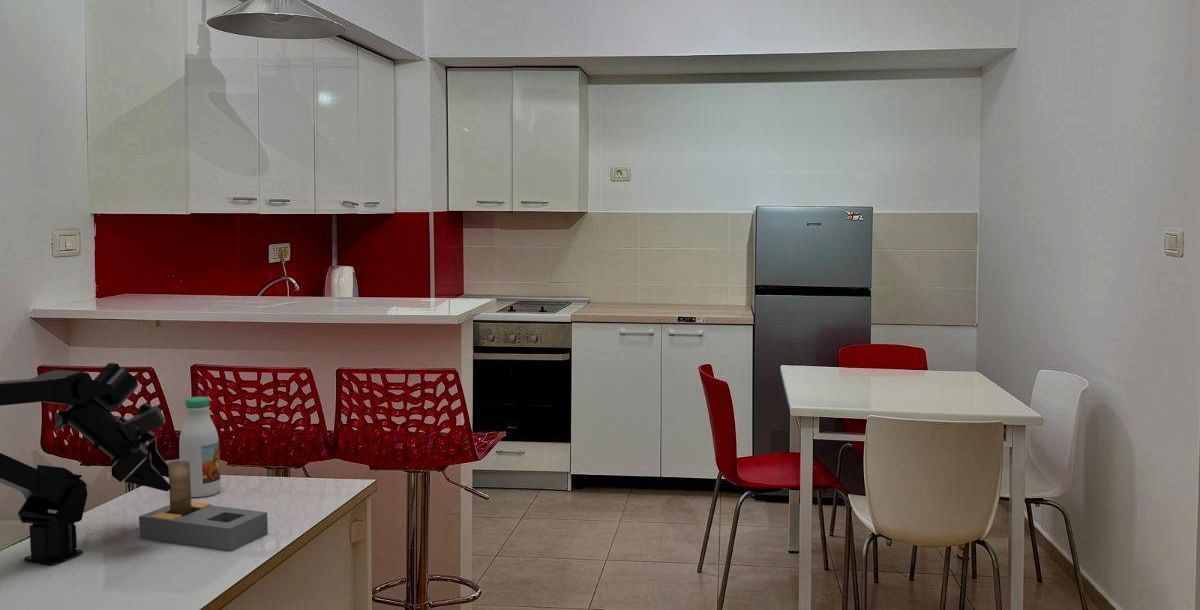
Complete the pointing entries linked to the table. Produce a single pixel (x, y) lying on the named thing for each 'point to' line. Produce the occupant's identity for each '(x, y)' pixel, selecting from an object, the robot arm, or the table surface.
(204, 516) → the grey peg socket base
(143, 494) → the table surface
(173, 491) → the walnut peg
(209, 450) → the milk bottle
